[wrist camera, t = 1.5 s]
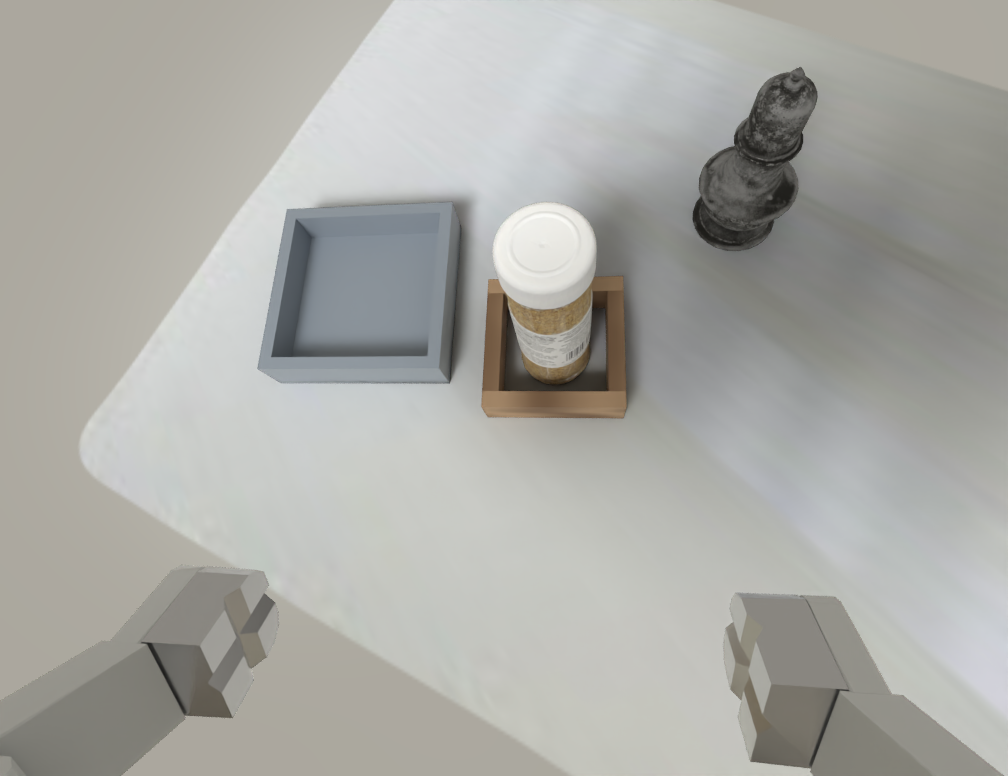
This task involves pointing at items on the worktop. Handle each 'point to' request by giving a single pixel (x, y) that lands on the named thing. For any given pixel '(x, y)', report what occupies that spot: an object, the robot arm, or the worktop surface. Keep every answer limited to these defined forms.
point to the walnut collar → (556, 402)
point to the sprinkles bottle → (548, 287)
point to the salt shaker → (756, 167)
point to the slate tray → (364, 295)
